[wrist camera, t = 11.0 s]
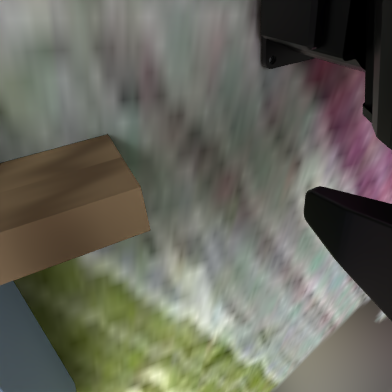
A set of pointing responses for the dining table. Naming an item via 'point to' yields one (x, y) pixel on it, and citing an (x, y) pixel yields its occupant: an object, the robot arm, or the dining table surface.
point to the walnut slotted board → (66, 206)
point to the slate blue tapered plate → (27, 350)
